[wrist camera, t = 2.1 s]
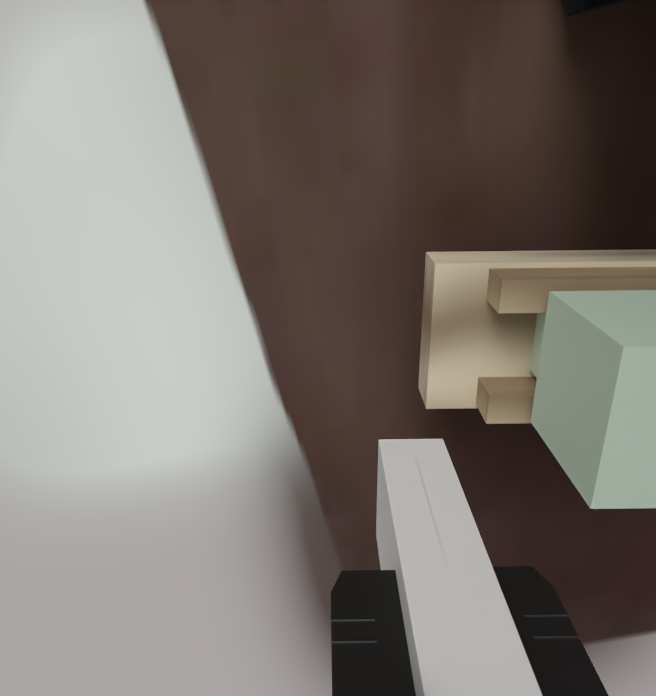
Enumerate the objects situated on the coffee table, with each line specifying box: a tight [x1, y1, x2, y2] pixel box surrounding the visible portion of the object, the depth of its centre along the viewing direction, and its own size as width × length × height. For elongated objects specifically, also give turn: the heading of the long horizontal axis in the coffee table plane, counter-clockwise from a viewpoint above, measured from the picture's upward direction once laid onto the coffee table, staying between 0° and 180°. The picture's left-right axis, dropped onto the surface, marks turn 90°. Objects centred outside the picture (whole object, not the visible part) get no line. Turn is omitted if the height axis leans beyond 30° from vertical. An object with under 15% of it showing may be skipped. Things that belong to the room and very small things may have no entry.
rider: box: [530, 290, 656, 509], centre depth 18 cm, size 5×5×7 cm
